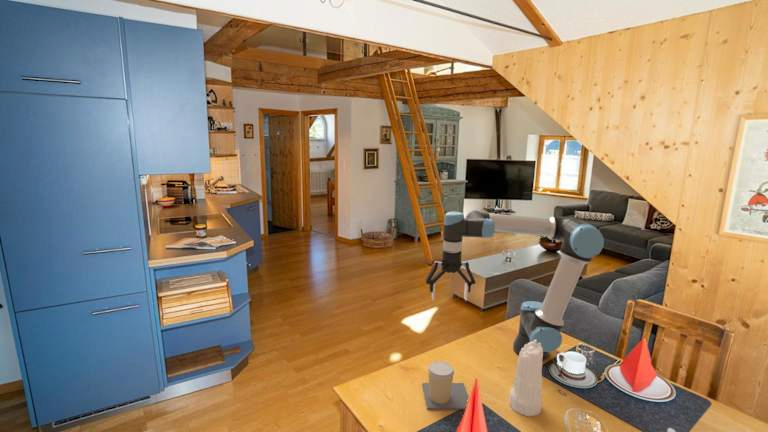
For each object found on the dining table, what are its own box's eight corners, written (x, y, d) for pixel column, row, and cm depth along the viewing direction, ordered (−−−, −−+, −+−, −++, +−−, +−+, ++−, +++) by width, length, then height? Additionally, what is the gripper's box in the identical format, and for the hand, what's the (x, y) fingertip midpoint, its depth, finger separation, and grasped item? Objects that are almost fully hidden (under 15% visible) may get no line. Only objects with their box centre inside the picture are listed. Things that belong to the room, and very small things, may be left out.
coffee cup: (451, 389, 150) (453, 361, 148) (452, 406, 141) (454, 376, 138) (427, 387, 151) (428, 359, 149) (426, 404, 142) (428, 374, 140)
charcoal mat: (463, 384, 155) (463, 382, 154) (471, 409, 141) (472, 407, 141) (422, 384, 154) (422, 382, 154) (427, 409, 140) (427, 407, 140)
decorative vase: (525, 420, 136) (532, 354, 131) (503, 401, 146) (509, 339, 140) (547, 410, 141) (555, 347, 136) (524, 392, 151) (531, 333, 145)
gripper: (480, 247, 163) (476, 295, 168) (420, 247, 162) (418, 295, 167) (485, 253, 156) (481, 303, 160) (422, 252, 155) (420, 302, 160)
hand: (449, 299), depth 164 cm, fingers open, 13 cm apart
